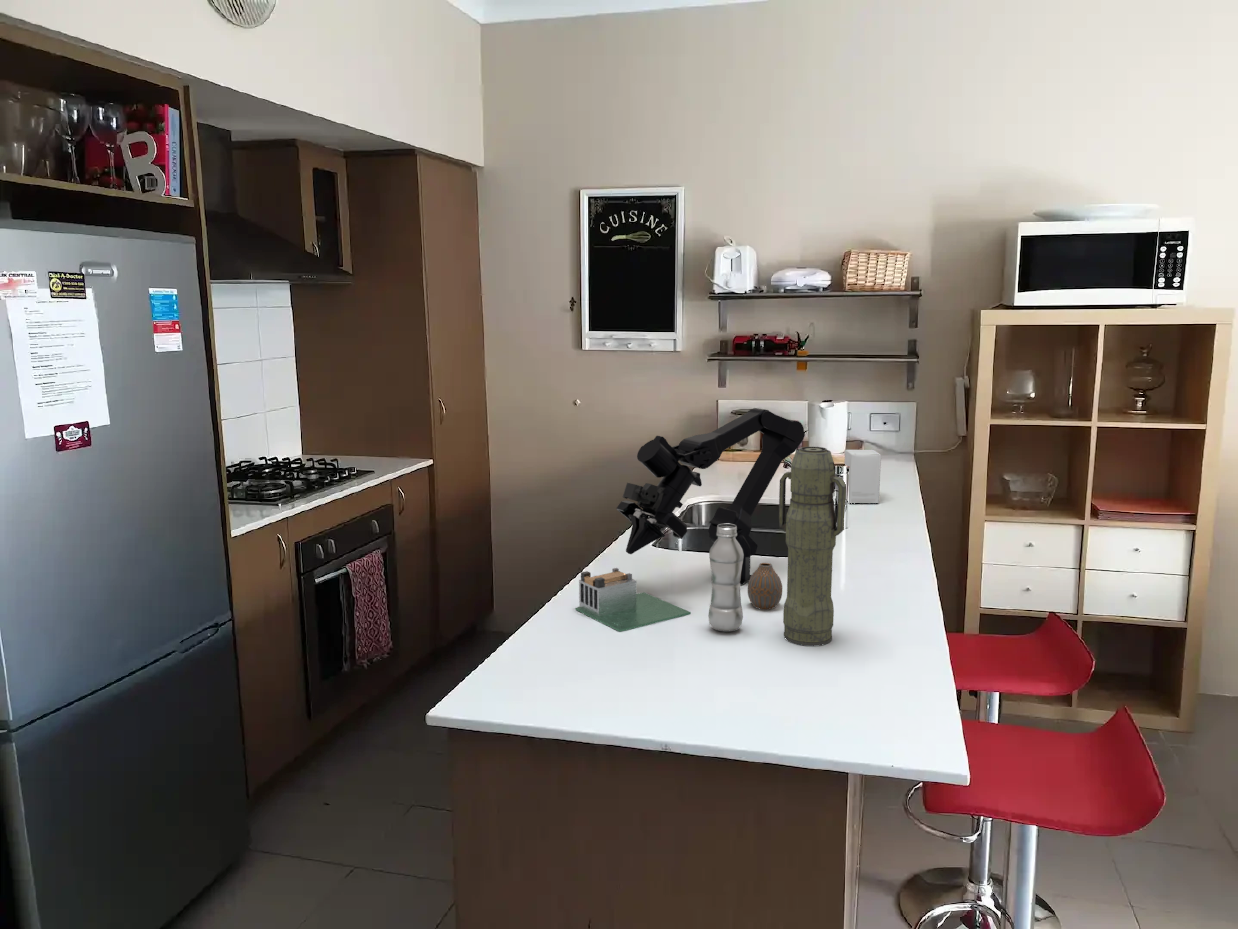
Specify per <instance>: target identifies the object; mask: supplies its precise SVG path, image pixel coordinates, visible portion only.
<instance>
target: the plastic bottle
mask: <svg viewBox="0 0 1238 929" xmlns="http://www.w3.org/2000/svg"><path fill="white" fill-rule="evenodd" d="M716 535H717V536H718V539H717V540H716V541H715V543H714V544H713V543H712V546H711V547H710V548H709V552H708V554H709V563H710V571H711V595H710V597H711V598H710V604H709V609H708V621H709V625H710V626H711V628H712V629H713V630H714V631H719V632H734V631H737V630H739V629H740V627H742V624H743V620H744V613H743V607H742V600H741V596H742V595H741V584H740V581H741V570H742V564H743V556H744V554H743V550H742V548H741V546H740V544H739V543H738V541H737V540H736V538H735V537H736V536H737V527H736V525H734V524H719V525H717V533H716Z"/></svg>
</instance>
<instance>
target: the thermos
mask: <svg viewBox="0 0 1238 929" xmlns="http://www.w3.org/2000/svg"><path fill="white" fill-rule="evenodd" d="M834 461H835V460H834V458H833V455H832V452H831V451H830V450H828V448H826V447H822V446H821V447H820V446H802V447H800V448H799V449H798V448H797V449H796V451H795V452H794V455H793V458H792V461H791V463H790V464H791V465H790V471H786V472H784V473H783V475H782V476H781V477H780V479H779V489H778V490H779V493H778V494H779V495H778V496H779V497H778V500H779V501H778V521H779V522H778V524H779V529H782V530H783V532H785V544H786V547H787V548H788V549H787V581H786V582H787V583H786V599H785V601H784V605H783V612H782V613H783V616H782V618H783V619H782V621H783V622H782V623H783V626H784V629H783V630H784V631H783V638H784V639H785V638H786V639H787V640H788V641H787V640H786V639H785V640H786V641H787V642H789V643H791V644H794V645H798V644H802V645H801V646H804V645H813V646H812V647H815V646H814V645H819V646H823V645H822V644H824V645H827V644H829V643H830V641H831V642H832V640H833V633H832V631H833V627H834V615H835V614H834V612H835V611H834V602H833V599H832V583H833V582H832V581H833V555H834V553H833V552H834V549H835V547H836V543H837V536H839V535H840V534H841V533H842V532H843V531H845V513H846V512H845V511H846V484H845V482H844V478H842V477H840V476H838V475H836V474H835V470H836V468H835V467H836V466H835V462H834ZM787 479H788V480H790V493H791V495H790V496H791V498H790V499H789V507H788V508H787V509H788V510H787V512H786V492H787V491H786V490H787V488H786V486H787ZM835 484H836V486H837V489H838V490H837V510H836V511H837V512H836V511H835V508H834V506H835V505H834V502H835V501H834V498H833V496H834V495H833V494H834V492H835ZM836 513H837V514H836ZM831 639H832V640H831Z"/></svg>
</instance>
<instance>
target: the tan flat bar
mask: <svg viewBox="0 0 1238 929" xmlns="http://www.w3.org/2000/svg"><path fill="white" fill-rule="evenodd" d="M626 574H627V573H625V572H622V571H620V570H619V571H616V572H608V573H604V574H599V575H594V576H591V577H589V576H586V577H584V579H585V583H587V584H589V585H591V586H595V578H600V577H602V578H604V579H605V583H609V582H614V581H618V580H622V579H626Z"/></svg>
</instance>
